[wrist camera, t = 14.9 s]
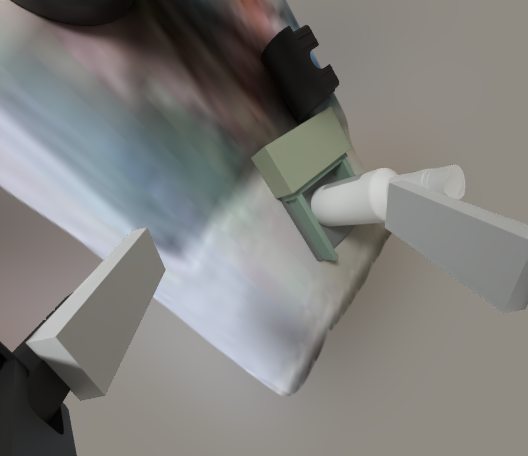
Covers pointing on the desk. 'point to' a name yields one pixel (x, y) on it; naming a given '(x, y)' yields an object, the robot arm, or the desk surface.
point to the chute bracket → (308, 176)
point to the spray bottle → (377, 194)
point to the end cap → (298, 70)
